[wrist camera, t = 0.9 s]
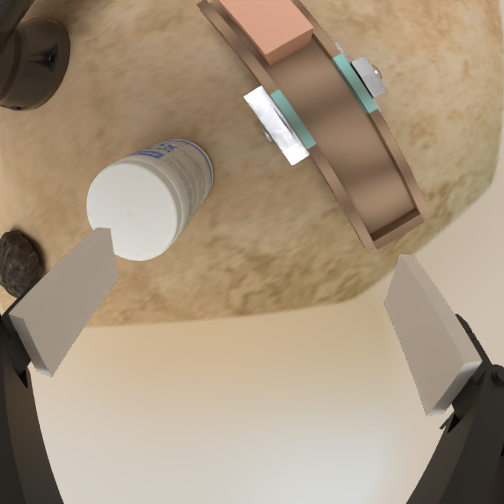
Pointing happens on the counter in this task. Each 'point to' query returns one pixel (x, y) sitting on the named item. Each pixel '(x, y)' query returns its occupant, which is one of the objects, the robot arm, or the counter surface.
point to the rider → (270, 26)
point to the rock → (18, 263)
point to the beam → (337, 130)
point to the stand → (279, 126)
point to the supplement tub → (150, 197)
